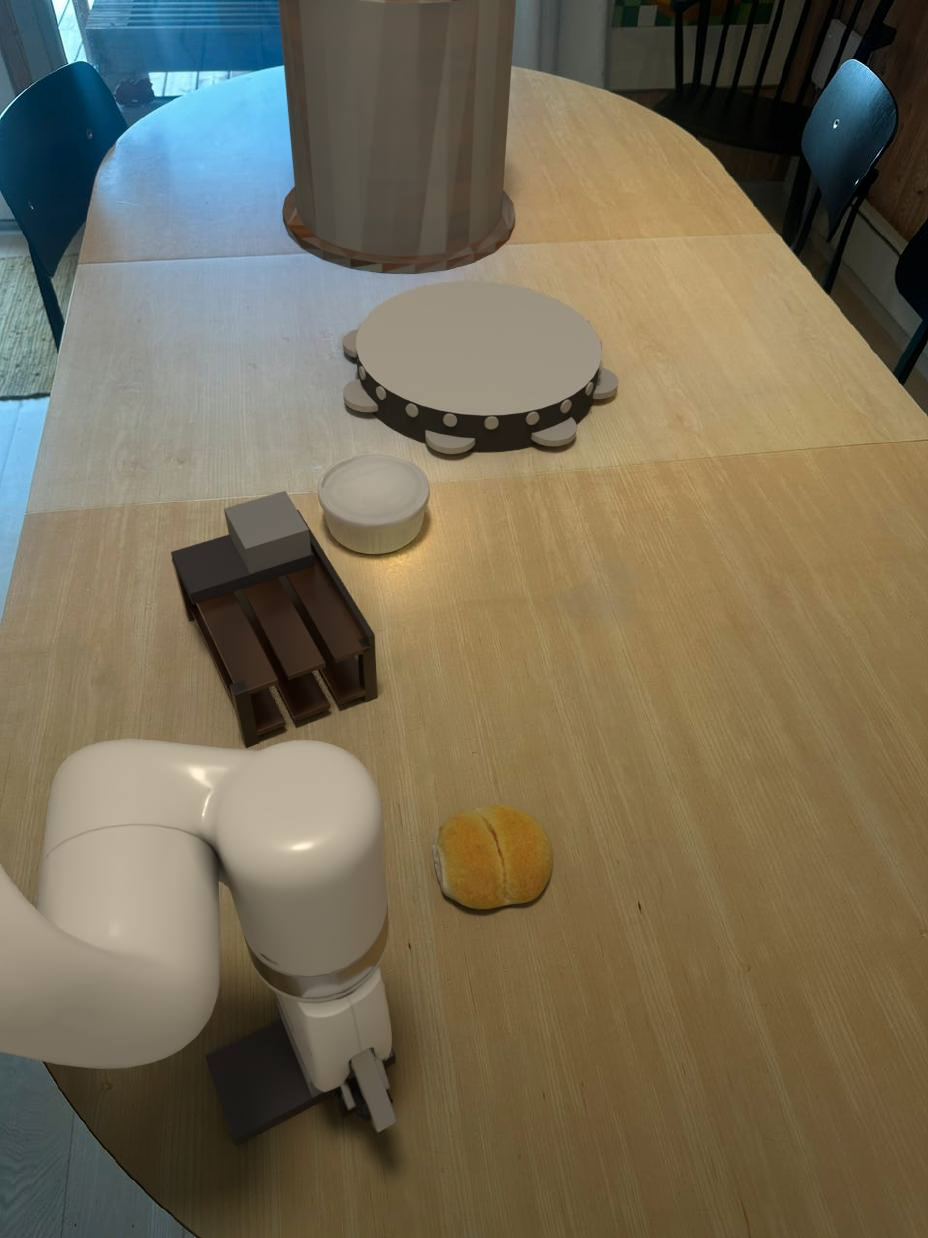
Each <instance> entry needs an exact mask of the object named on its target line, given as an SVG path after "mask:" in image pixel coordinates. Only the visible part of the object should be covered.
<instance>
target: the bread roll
mask: <svg viewBox="0 0 928 1238" xmlns="http://www.w3.org/2000/svg"><path fill="white" fill-rule="evenodd" d="M432 853H433V860H434V869H435V872H436V876H437V879H438V882H439V884H440V885H439V886H440V889H441V891H442V893H443V894H444V896H446V897H447V898H449V899H451V900H453V901H455V902H457V903H458V904H460V905H462V906H464V907H467V908H470V909H476V910H492V909H495V908H500V907H504V906H508V905H519V904H520V905H521V904H525V903H526V904H527V903H529V902H532V901H533V900H536V899H537V898H538V897H539V896H540V894H541V893H542V892H543V890H544V889H545V888H546V886H547V884H548V882H549V879H550V878H551V874H552V870H553V866H554V850H553V845H552V841H551V839H550V836H549V834H548V832H547V831H546V829H545V828H544V826H543V825H542V824H541V822H540V821H539V820H538V819H536V818H535V817H534V816H533V815H532V814H530V813H528V812H527V811H524V810H522V809H520V808H517V807H514V806H510V805H507V804H499V803H498V804H496V803H495V804H488V805H484V806H479V807H475V808H472V809H466V810H461V811H458V812H456V813H454V814H453V815H451V816H450V817H448V818H446V819H445V820H444V821H443V822H442V824H440V826H439V829H438V830H437V832H436V836H435V840H434V842H433V846H432Z"/></svg>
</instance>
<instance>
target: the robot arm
mask: <svg viewBox="0 0 928 1238" xmlns="http://www.w3.org/2000/svg"><path fill="white" fill-rule="evenodd" d="M48 795H49V796H48V802H47V809H46V811H47V812H46V820H45V829H44V838H43V839H44V840H43V849H42V858H41V867H40V876H39V881H38V890H37V898H36V907H35V906H34V905H33V904H32V903H31V902H30V901H29V900H28V899H27V898H26V897H25V896H24V895H23V893H22V891H21V890H20V889H19V888H18V886H17V885H16V884H15V882H14V881H13V880H12V879H11V877H10V876H9V875H8V874H7V872H6V870H5V868H4V866H3V865H2V863H1V862H0V1053H2V1054H3V1053H4V1054H8V1055H11V1056H17V1057H20V1058H25V1059H31V1060H34V1061H39V1062H44V1063H49V1064H54V1065H59V1066H66V1067H67V1066H69V1067H77V1068H85V1069H97V1070H99V1069H100V1070H111V1069H113V1070H114V1069H128V1068H129V1069H130V1068H134V1067H140V1066H144V1065H148V1064H152V1063H155V1062H158V1061H161V1060H164V1059H166V1058H168V1057H171V1056H172V1055H174V1054H176V1053H178V1052H179V1051H181V1050H183V1049H184V1048H185V1047H186V1046H188V1045H189V1044H190V1043H191V1042H192V1041H194V1040H195V1039H196V1038H198V1036H199V1035H200V1033H201V1032H202V1031H203V1029H204V1028H205V1026H206V1025H207V1023H208V1022H209V1021H210V1019H211V1016H212V1014H213V1013H214V1009H215V1006H216V1002H217V999H218V995H219V989H220V979H221V917H220V915H221V914H220V913H221V911H220V910H221V909H220V883H222V884H223V885H225V886H226V887H227V888H228V890H229V891H230V895H231V898H232V901H233V905H234V908H235V912H236V913H237V914H236V915H237V917H238V921H239V925H240V927H241V930H242V935H243V938H244V941H245V945H246V948H247V950H248V951H247V952H248V954H249V958H250V961H251V964H252V966H253V968H254V970H255V972H256V974H257V975H258V977H259V978H260V980H262V982H263V983H264V984H265V985H266V986H267V987H268V988H269V989H271V990H272V991H273V992H275V994H276V997H277V999H278V1000H279V1002H280V1005H281V1007H282V1010H283V1012H284V1015H285V1017H286V1020H287V1022H288V1025H289V1028H290V1030H291V1033H292V1035H293V1038H294V1040H295V1042H296V1045H297V1047H298V1050H299V1052H300V1055H301V1057H302V1060H303V1062H304V1065H305V1067H306V1069H307V1072H308V1074H309V1076H310V1078H311V1081H312V1083H313V1084H314V1086H315V1087H316V1088H317V1089H319V1090H320V1091H323V1092H327V1091H330V1090H332V1089H334V1088H337V1089H336V1090H337V1091H335V1092H336V1094H335V1097H336V1102H337V1108H338V1111H339V1113H340V1116H341V1118H347V1117H349V1116H350V1115H352V1114H354V1113H355V1114H356V1116H357V1118H359V1119H360V1120H363V1121H364V1122H365V1123H366V1124H368V1123H370V1124H371V1126H372V1127H373V1129H374V1130H375V1132H376V1133H377V1134H379V1133H381V1132H382V1131H384V1130H386V1129H388V1128H390V1127H391V1126H393V1125H395V1124H397V1123H398V1119H397V1116H396V1113H395V1111H394V1108H393V1103H394V1100H393V1097H392V1094H391V1093H390V1091H389V1090H390V1089H391V1084H390V1082H389V1077H388V1072H387V1070H386V1067H384V1065H383V1062H382V1060H383V1059H384V1060H385V1061H386V1060H387V1058H388V1056H389V1054H390V1051H391V1046H392V1047H393V1034H392V1024H391V1018H390V1010H389V1006H388V1005H389V1004H388V1001H387V995H386V990H385V989H386V984H385V982H384V980H383V975H382V971H381V970H382V969H381V966H380V964H381V962H382V960H383V959H384V956H385V953H386V950H387V947H388V941H389V937H390V926H389V925H390V924H389V905H388V885H387V883H388V882H387V864H386V862H387V861H386V843H385V842H386V840H385V820H384V819H385V818H384V807H383V802H382V798H381V792H380V790H379V787H378V784H377V782H376V780H375V778H374V777H373V775H372V774H371V772H370V771H369V769H368V768H367V767H366V766H365V765H364V764H363V763H362V762H361V761H360V760H359V758H357V757H356V756H355V755H353V753H350V752H349V751H348V750H346V749H344V748H342V747H340V746H337V745H336V744H333V743H329V742H326V741H322V740H314V739H313V740H312V739H293V740H292V739H291V740H287V741H281V742H278V743H275V744H272V745H269V746H266V747H264V748H262V749H249V748H234V747H219V746H211V745H201V744H191V743H184V742H175V741H167V740H158V739H157V740H155V739H141V738H118V739H112V740H111V739H110V740H103V741H99V742H94V743H91V744H88V745H85V746H83V747H81V748H79V749H78V750H76V751H74V752H73V753H71V754H70V755H69V756H68V757H66V758H65V760H64V761H63V762H62V763H61V764H60V765H59V767H58V769H57V771H56V773H55V775H54V777H53V779H52V783H51V787H50V791H49V794H48ZM278 1000H277V1001H278ZM351 1072H354V1074H355V1078H353V1079H352V1080H350V1081H348V1079H347V1076H348V1075H349V1073H351Z"/></svg>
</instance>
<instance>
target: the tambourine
mask: <svg viewBox="0 0 928 1238" xmlns="http://www.w3.org/2000/svg"><path fill="white" fill-rule="evenodd" d="M342 350H343V351H344V353H346V354H347V355H348V356H350V357H352V358H354V359H356V369H357V370H356V371H357V379H354V380H352V381H350V382H349V383H347V384H346V385H345V387H344V389H343V392H342V393H343V395H342V396H343V401H344V404H345V405H346V406H347V407H348V408H350V409H351V410H354V411H357V412H360V413H372V414H373V415H374V416H375V418H376V419H378V420H379V421H380V422H382V423H383V424H384V425H386V426H387V427H388V428H390V429H392V430H393V431H395V432H397V433H398V434H400V435H402V436H403V437H407V438H409V439H412V440H414V441H416V442H419V443H423V444H425V445H426V444H427V445H428V446H429V448H431V449H432V450H434V451H436V452H439V453H442V454H447V455H455V454H462V453H466V452H468V453H502V452H510V451H511V452H512V451H518V450H523V449H527V448H531V447H532V448H533V447H535V446H536V447H537V446H539V445H542V446H546V447H560V446H564V445H568V444H570V443H571V442H572V441H574V439H575V438H576V435H577V429H578V426H577V425H579V424H580V423H581V422H582V420H583V419H585V417H586V416H587V415H588V414H589V412H590V411H591V408H592V406H593V404H594V401H595V400H603V399H608V398H611V397H612V396H614V395H615V394H616V392H617V391H618V387H619V378H618V376H617V375H616V374H615V373H614V372H612V371H611V370H609V369H607V368H604V367H603V365H604V361H602V356H603V355H602V352H603V341H602V340H600V338H599V335H598V334H597V332H596V330H595V329H594V327H593V325H592V324H591V322H590V320H587V319H586V318H585V317H584V316H583V315H582V314H581V313H579V311H577V310H576V309H574V308H573V307H571V306H570V305H568V304H566V303H565V302H564V301H561V300H560V299H557V298H555V297H553V296H551V295H548V294H546V293H543V292H540V291H537V290H534V289H531V288H529V287H524V286H520V285H515V284H511V283H505V282H497V281H487V280H455V281H454V280H453V281H443V282H436V283H431V284H426V285H422V286H418V287H415V288H411V289H408V290H406V291H403V292H400V293H398V294H395V295H394V296H391V297H390V298H388V299H385V300H384V301H383V302H381V303H380V304H378V305H377V306H376V307H375V308H373V309H372V310H371V311H370V312H369V313H368V314H367V316H365V318H364V319H363V320H362V322H361V324H359V325H358V328H357V329H353V330H351V331H348V332H347V333H346V334H345V335H344V336H343V338H342Z"/></svg>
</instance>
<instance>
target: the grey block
mask: <svg viewBox="0 0 928 1238" xmlns="http://www.w3.org/2000/svg"><path fill="white" fill-rule="evenodd" d="M297 510H298V509H297V508H296V506H295V504H294V503H293V501H292V499H291V498H290V496H289V495H288V492H287V491H286V490H283V491H280V492H276V493H273V494H269V495H266V496H263V497H258V498H256V499H253V500H249V501H245V502H242V503H239V504H234V505H232V506H228V507H224V508H223V511H224V516H225V517H224V518H225V522H226V527H227V533H228V534H225V535H222V536H219V537H216V538H215V537H214V538H212V539H209V540H205V541H203V542H199V543H196V544H193V545H189V546H186V547H183V548H179V549H176V550H172V551H171V552H170V555H171V560H172V559H173V563H174V565H175V567H176V570H177V572H178V574H179V576H180V578H181V580H182V583H183V585H184V587H185V589H186V591H187V593H188V596H189V598H190V600H191V602H192V604H193V605H194V604H197V603H200V602H203V601H206V600H210V599H213V598H216V597H219V596H222V595H225V594H228V593H231V592H234V591H237V590H240V589H244V588H247V587H250V586H253V585H256V584H259V583H262V582H265V581H268V580H271V579H275V578H278V577H281V576H284V575H287V574H290V573H293V572H296V571H299V570H302V569H305V568H309V567H312V566H315V562H314V554H313V552H312V551H311V546H310V536H309V529H308V527H307V526H306V524H305V522H306V521H305V522H304V521H303V519H302V517H303V516H302V517H301V516H300V514H299V513H298V511H297ZM173 563H172V564H173Z"/></svg>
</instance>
